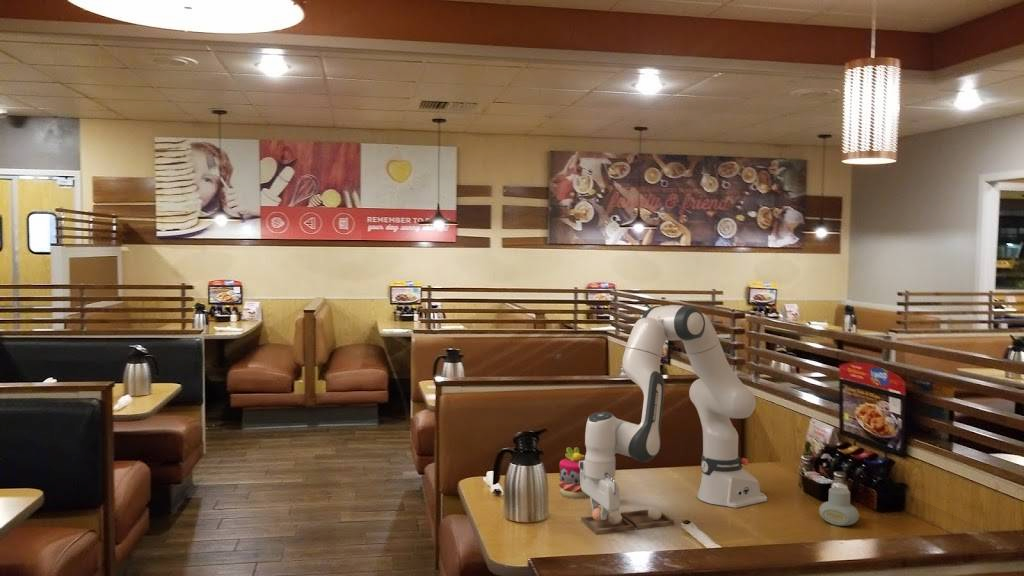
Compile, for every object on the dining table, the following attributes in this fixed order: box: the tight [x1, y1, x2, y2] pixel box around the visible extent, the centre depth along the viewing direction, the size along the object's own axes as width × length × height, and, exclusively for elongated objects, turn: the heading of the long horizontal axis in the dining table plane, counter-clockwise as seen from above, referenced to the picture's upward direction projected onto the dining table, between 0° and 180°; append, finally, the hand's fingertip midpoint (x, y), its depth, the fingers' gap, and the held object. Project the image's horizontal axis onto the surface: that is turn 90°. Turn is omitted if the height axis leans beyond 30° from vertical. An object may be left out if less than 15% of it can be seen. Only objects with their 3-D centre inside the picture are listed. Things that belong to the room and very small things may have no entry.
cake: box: [558, 446, 589, 500], centre depth 242 cm, size 10×11×15 cm
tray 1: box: [580, 513, 635, 536], centre depth 212 cm, size 12×11×2 cm
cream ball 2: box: [647, 506, 662, 520], centre depth 217 cm, size 4×4×4 cm
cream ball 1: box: [608, 510, 622, 525], centre depth 213 cm, size 4×4×4 cm
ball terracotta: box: [591, 507, 604, 522], centre depth 211 cm, size 4×4×4 cm
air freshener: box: [818, 486, 860, 527], centre depth 217 cm, size 11×8×10 cm
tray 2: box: [619, 508, 675, 531], centre depth 216 cm, size 12×11×2 cm
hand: (599, 515), depth 211 cm, fingers closed on ball terracotta, 4 cm apart
